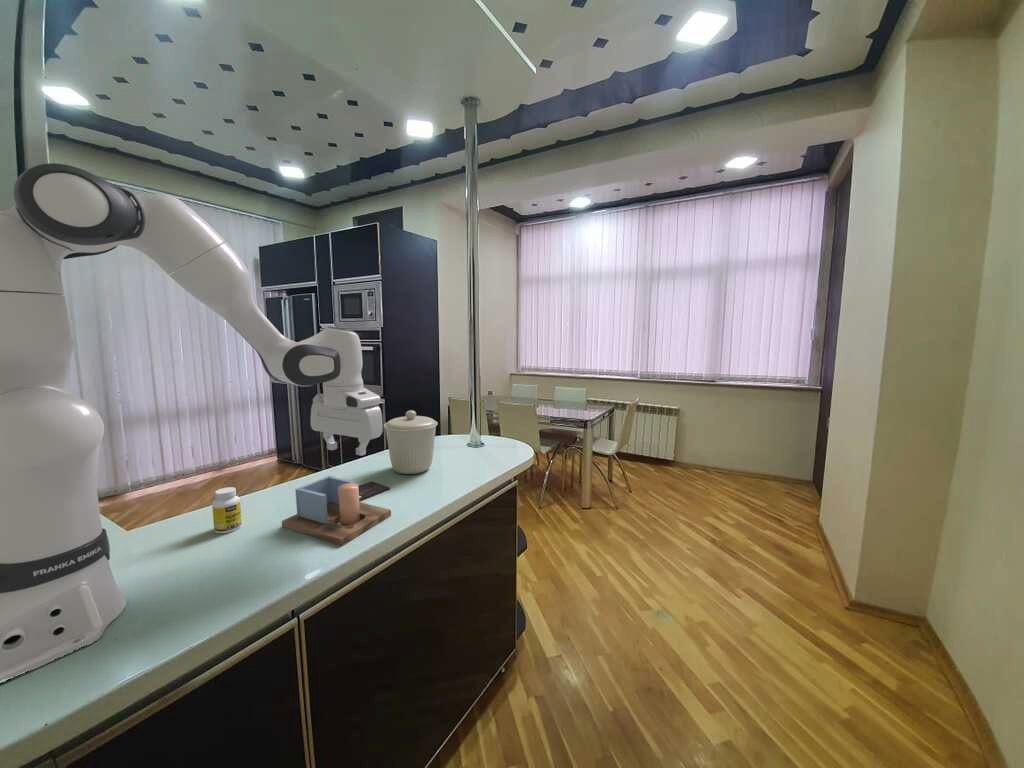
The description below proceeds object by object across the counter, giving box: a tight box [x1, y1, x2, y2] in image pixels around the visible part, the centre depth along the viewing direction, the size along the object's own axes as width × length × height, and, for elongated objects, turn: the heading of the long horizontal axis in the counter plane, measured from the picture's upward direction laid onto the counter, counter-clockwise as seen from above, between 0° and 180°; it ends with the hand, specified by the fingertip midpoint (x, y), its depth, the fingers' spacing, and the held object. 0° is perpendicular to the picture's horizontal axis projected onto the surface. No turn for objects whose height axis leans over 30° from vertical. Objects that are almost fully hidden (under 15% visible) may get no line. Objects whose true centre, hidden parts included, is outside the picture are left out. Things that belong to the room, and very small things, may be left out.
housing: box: [295, 475, 356, 524], centre depth 98 cm, size 10×10×7 cm
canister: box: [383, 409, 438, 475], centre depth 133 cm, size 18×18×21 cm
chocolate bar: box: [358, 481, 391, 502], centre depth 113 cm, size 9×1×18 cm
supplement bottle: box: [211, 486, 243, 534], centre depth 93 cm, size 5×5×10 cm
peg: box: [338, 482, 361, 526], centre depth 95 cm, size 5×5×10 cm
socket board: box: [281, 501, 392, 547], centre depth 97 cm, size 16×20×2 cm
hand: (346, 452), depth 93 cm, fingers open, 8 cm apart
